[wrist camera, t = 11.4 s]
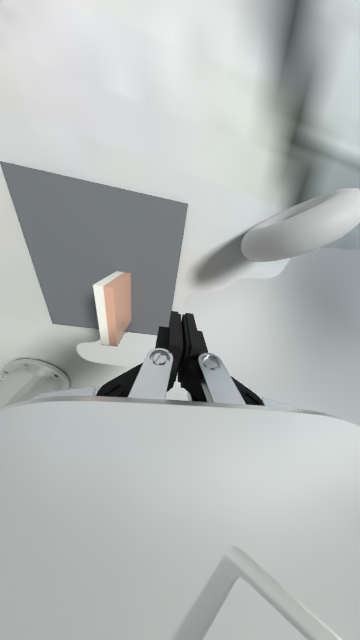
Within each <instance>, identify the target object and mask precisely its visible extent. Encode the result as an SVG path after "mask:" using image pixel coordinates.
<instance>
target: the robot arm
mask: <svg viewBox="0 0 360 640" xmlns="http://www.w3.org/2000/svg"><path fill="white" fill-rule="evenodd" d="M177 372H178V382H181V388H185V389H186V390H187V391H188V393H187V395H188V400H189V401H180V400H165V397H166V392H168V391H169V390H170V389H171V388H172V387H173V385H174V382H175V381H176V376H177ZM1 375H2V378H3V379H2V380H1V381H0V640H360V426H358V425H356V424H354V423H351V422H349V421H347V420H344V419H342V418H339V417H335V416H332V415H329V414H325V413H321V412H316V411H311V410H304V409H299V408H296V407H293V406H290V405H286V404H283V403H279V402H276V401H273V400H269V399H266V398H261V399H260V398H259V397H258V396H257V395H256V394H255V393H253V392H252V391H251V390H249V389H248V388H247V387H245V386H244V385H242V384H241V383H240V382H238V381H237V380H235V379H234V378H233V377H231V376H230V375H229V373H228V371H227V369H226V368H225V366H224V364H223V362H222V361H221V360H220V358H218V357H217V356H215V355H214V354H210V353H208V350H207V347H206V343H205V340H204V337H203V333H202V332H201V331H197V328H196V324H195V320H194V316H193V314H190V313H186V314H185V315H183V316H182V321H181V314H178V312H175V311H171V314H170V321H169V327H162V326H159V330H158V335H157V342H156V347H155V349H153V350H151V351H150V352H148V354H147V356H146V358H145V360H144V362H143V363H141V364H140V365H138V366H136V367H134V368H132V369H131V370H129V371H127V372H125V373H123V374H122V375H120V376H118V377H116V378H115V379H113V380H111V381H109V382H107V383H106V384H104V385H103V386H102V387H100V388H95V386H91V387H83V388H76V389H69V387H70V382H69V379H68V377H67V376H66V375H65V374H64V373H63V372H62V371H61V370H60V369H58V368H56V367H55V366H53V365H51V364H49V363H46V362H43V361H39V360H34V359H18V360H14V361H11V362H10V363H8V364H7V365H6V366H5V367H4V368H3V369H2V371H1Z"/></svg>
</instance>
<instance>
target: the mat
mask: <svg viewBox="0 0 360 640" xmlns="http://www.w3.org/2000/svg"><path fill="white" fill-rule="evenodd" d="M0 164H1V167H2V170H3V173H4V177H5V180H6V183H7V186H8V189H9V192H10V195H11V198H12V201H13V204H14V207H15V210H16V213H17V216H18V219H19V222H20V225H21V228H22V231H23V235H24V238H25V241H26V244H27V247H28V250H29V253H30V256H31V259H32V262H33V265H34V268H35V271H36V274H37V277H38V280H39V283H40V286H41V290H42V293H43V296H44V299H45V302H46V305H47V308H48V311H49V314H50V317H51V320H52V323H53V324H61V325H70V326H79V327H88V328H96V329H99V324H98V317H97V310H96V303H95V296H94V289H93V285H94V284H95V283H97V282H99V281H101V280H102V279H104V278H106V277H108V276H109V275H111V274H113V273H115V272H116V271H118V272H125V273H131V321H130V323H129V325H128V327H127V329H126V331H125V332H133V333H141V334H151V335H158V330H159V326H162V327H169V321H170V314H171V310H172V304H173V297H174V291H175V285H176V278H177V272H178V265H179V259H180V252H181V246H182V239H183V233H184V226H185V220H186V213H187V207H188V204H186V203H182V202H177V201H173V200H169V199H164V198H160V197H155V196H151V195H147V194H142V193H138V192H133V191H129V190H125V189H120V188H116V187H111V186H107V185H103V184H98V183H94V182H89V181H85V180H81V179H76V178H72V177H67V176H63V175H59V174H54V173H50V172H46V171H41V170H37V169H32V168H28V167H24V166H19V165H15V164H10V163H6V162H2V161H0Z"/></svg>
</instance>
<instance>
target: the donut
mask: <svg viewBox="0 0 360 640" xmlns="http://www.w3.org/2000/svg"><path fill="white" fill-rule="evenodd" d="M359 223H360V189H357V188H353V189H341V190H337V191H334V192H330V193H327V194H324V195H322V196H319V197H316V198H313V199H311V200H308V201H305V202H303V203H300V204H298V205H296V206H293V207H291V208H289V209H287V210H284V211H282V212H280V213H278V214H276V215H274V216H272V217H270V218H268V219H266V220H264V221H262V222H261V223H259V224H257V225H256V226H254V227H252V228H251V229H250V230H249V231H248V232H247V233H246V234H245V236H244V237H243V240H242V243H241V252H242V254H243V255H244V256H245V257H246V258H247V259H249V260H251V261H258V262H267V261H276V260H281V259H286V258H291V257H294V256H297V255H301V254H304V253H307V252H310V251H313V250H315V249H318V248H320V247H323V246H325V245H327V244H329V243H331V242H333V241H335V240H337V239H339V238H341V237H342V236H344V235H346V234H347V233H348V232H349V231H350V230H352V229H353V228H354V227H355V226H356V225H357V224H359Z"/></svg>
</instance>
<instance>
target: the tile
mask: <svg viewBox="0 0 360 640" xmlns="http://www.w3.org/2000/svg"><path fill="white" fill-rule="evenodd" d="M93 289H94V296H95V303H96V310H97V317H98V324H99V331H100V338H101V344H102V345H107V346H118V344H119V342H120V340H121V338H122V337H123V335H124V333H125V331H126V329H127V327H128V325H129V323H130V321H131V273H125V272H118V271H116V272H115V273H113V274H111V275H109V276H108V277H106V278H104V279H102V280H101V281H99V282H97V283H95V284H94V285H93Z"/></svg>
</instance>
